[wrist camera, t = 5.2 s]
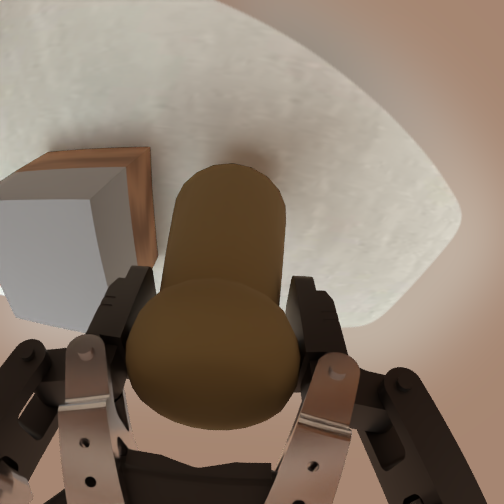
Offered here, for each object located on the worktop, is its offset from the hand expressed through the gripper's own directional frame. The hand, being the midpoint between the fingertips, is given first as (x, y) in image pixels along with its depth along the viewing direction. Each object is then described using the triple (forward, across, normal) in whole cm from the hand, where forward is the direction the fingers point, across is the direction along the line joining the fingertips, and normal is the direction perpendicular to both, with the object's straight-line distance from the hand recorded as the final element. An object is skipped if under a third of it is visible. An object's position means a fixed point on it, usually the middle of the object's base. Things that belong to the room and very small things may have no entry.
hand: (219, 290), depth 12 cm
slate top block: (+9, +12, +3) cm, 15 cm away
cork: (+6, 0, 0) cm, 6 cm away
